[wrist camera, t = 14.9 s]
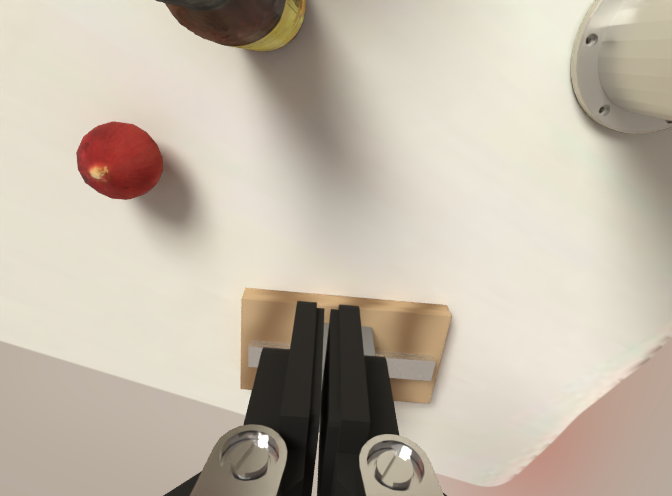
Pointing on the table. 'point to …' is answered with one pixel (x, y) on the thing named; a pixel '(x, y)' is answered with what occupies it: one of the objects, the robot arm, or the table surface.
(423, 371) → the rail
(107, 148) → the red oval fruit
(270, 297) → the mounting board
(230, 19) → the sauce bottle
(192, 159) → the table surface
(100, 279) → the table surface
